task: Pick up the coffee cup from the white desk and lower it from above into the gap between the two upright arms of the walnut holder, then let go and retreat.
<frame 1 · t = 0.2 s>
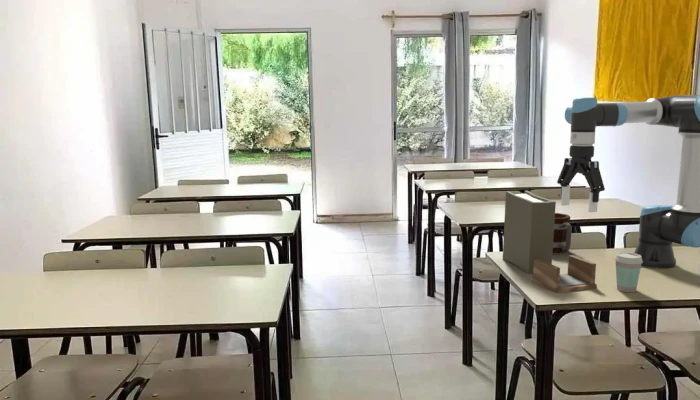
hand: (578, 208, 193), 27 cm above the table, fingers open, 13 cm apart
holder: (563, 284, 201), on the table
book: (526, 266, 224), on the table
mug: (556, 251, 246), on the table
coffee cup: (626, 290, 194), on the table
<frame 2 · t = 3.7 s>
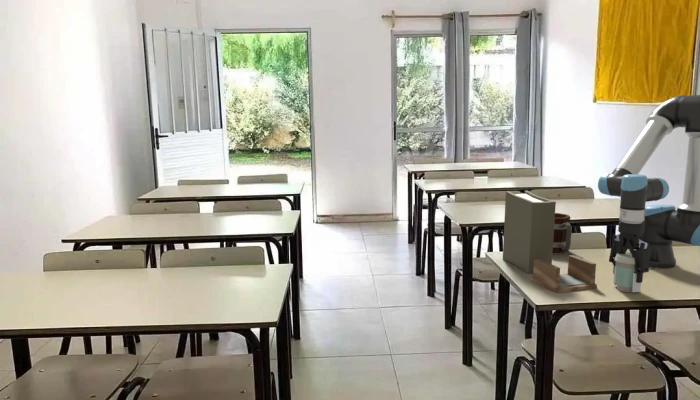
hand: (626, 287, 194), 1 cm above the table, fingers closed on coffee cup, 8 cm apart
coffee cup: (626, 290, 194), on the table, touching gripper
everything else where it was.
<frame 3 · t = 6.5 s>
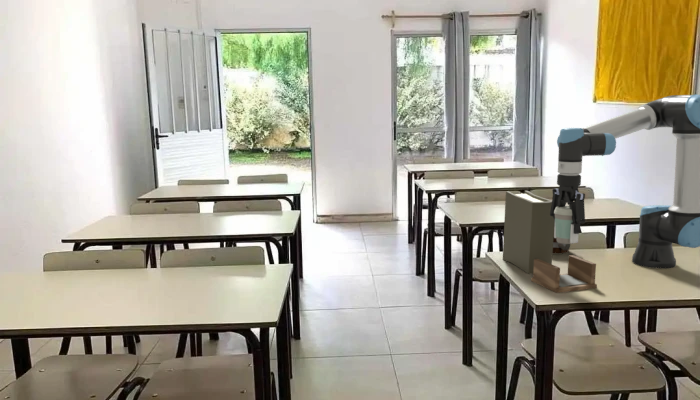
hand: (565, 239, 198), 16 cm above the table, fingers closed on coffee cup, 8 cm apart
coffee cup: (565, 242, 198), point 15 cm above the table, touching gripper
everything else where it was.
when the fingers open (3 cm above the table, at t = 9.6 s): coffee cup stays where it is, resting on holder.
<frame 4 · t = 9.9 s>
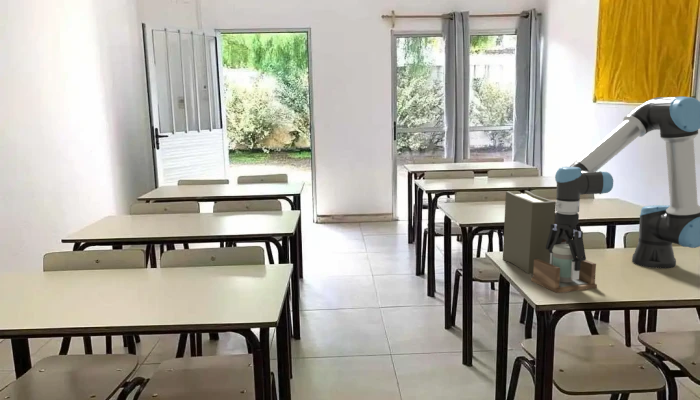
hand: (563, 274, 200), 3 cm above the table, fingers open, 10 cm apart
coffee cup: (563, 280, 200), point 1 cm above the table, touching holder
everything else where it was.
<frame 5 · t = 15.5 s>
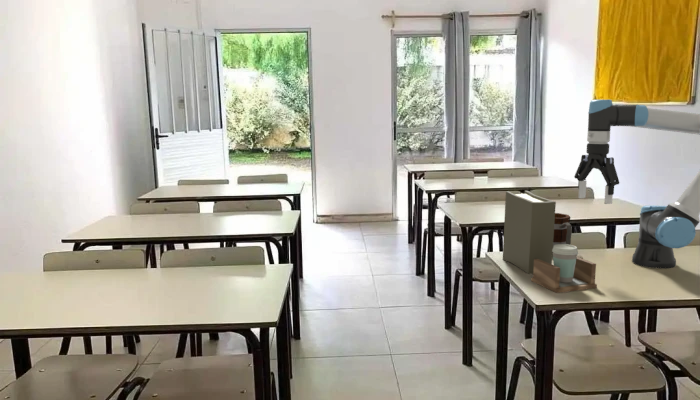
hand: (594, 200, 212), 27 cm above the table, fingers open, 13 cm apart
nothing on the table moved.
at the end: coffee cup inside the target area on the holder (0.0 cm from its centre), point 1.3 cm above the holder's base; coffee cup tilted 0°; the gripper is holding nothing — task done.
